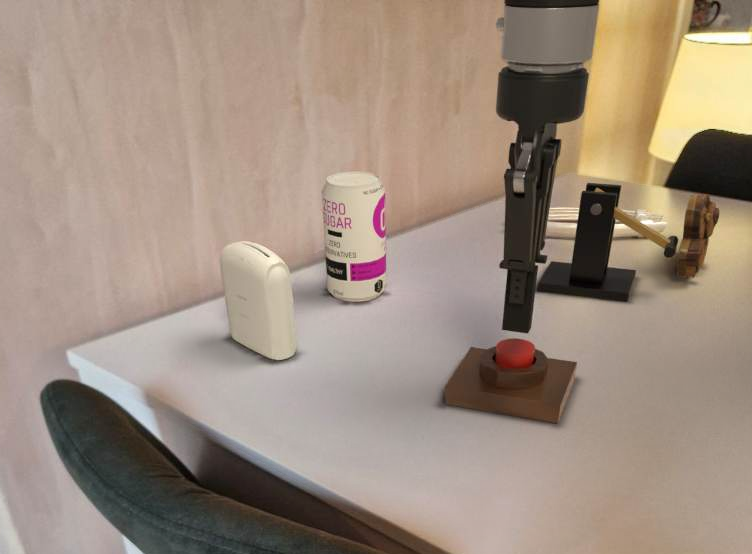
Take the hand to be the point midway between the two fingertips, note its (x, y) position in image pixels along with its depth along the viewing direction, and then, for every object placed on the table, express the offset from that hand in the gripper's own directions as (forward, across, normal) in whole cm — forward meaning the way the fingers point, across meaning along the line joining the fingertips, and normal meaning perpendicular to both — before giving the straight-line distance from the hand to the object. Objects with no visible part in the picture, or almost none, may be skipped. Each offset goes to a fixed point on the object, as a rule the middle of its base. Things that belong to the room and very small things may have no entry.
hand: (516, 328), depth 78 cm
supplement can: (+8, -21, -27) cm, 35 cm away
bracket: (+7, -34, +3) cm, 35 cm away
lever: (0, -34, +7) cm, 35 cm away
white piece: (+7, -58, -1) cm, 58 cm away
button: (+4, 0, 0) cm, 4 cm away
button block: (+7, 0, 0) cm, 7 cm away
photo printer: (+8, -2, -31) cm, 32 cm away
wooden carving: (+7, -45, +16) cm, 48 cm away
